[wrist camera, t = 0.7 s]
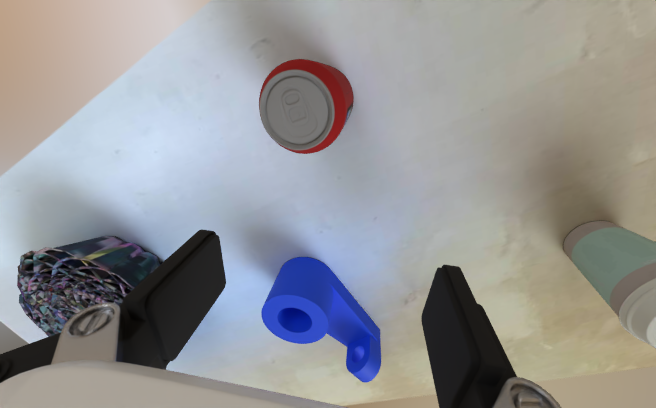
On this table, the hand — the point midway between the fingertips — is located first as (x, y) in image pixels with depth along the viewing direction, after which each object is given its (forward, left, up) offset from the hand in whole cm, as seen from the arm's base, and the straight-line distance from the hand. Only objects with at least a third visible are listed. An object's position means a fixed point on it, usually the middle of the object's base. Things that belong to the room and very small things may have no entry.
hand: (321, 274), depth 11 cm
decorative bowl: (+8, -47, -22) cm, 52 cm away
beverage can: (-6, -1, -22) cm, 23 cm away
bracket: (+22, -13, -22) cm, 33 cm away
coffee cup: (+22, +22, -22) cm, 38 cm away
